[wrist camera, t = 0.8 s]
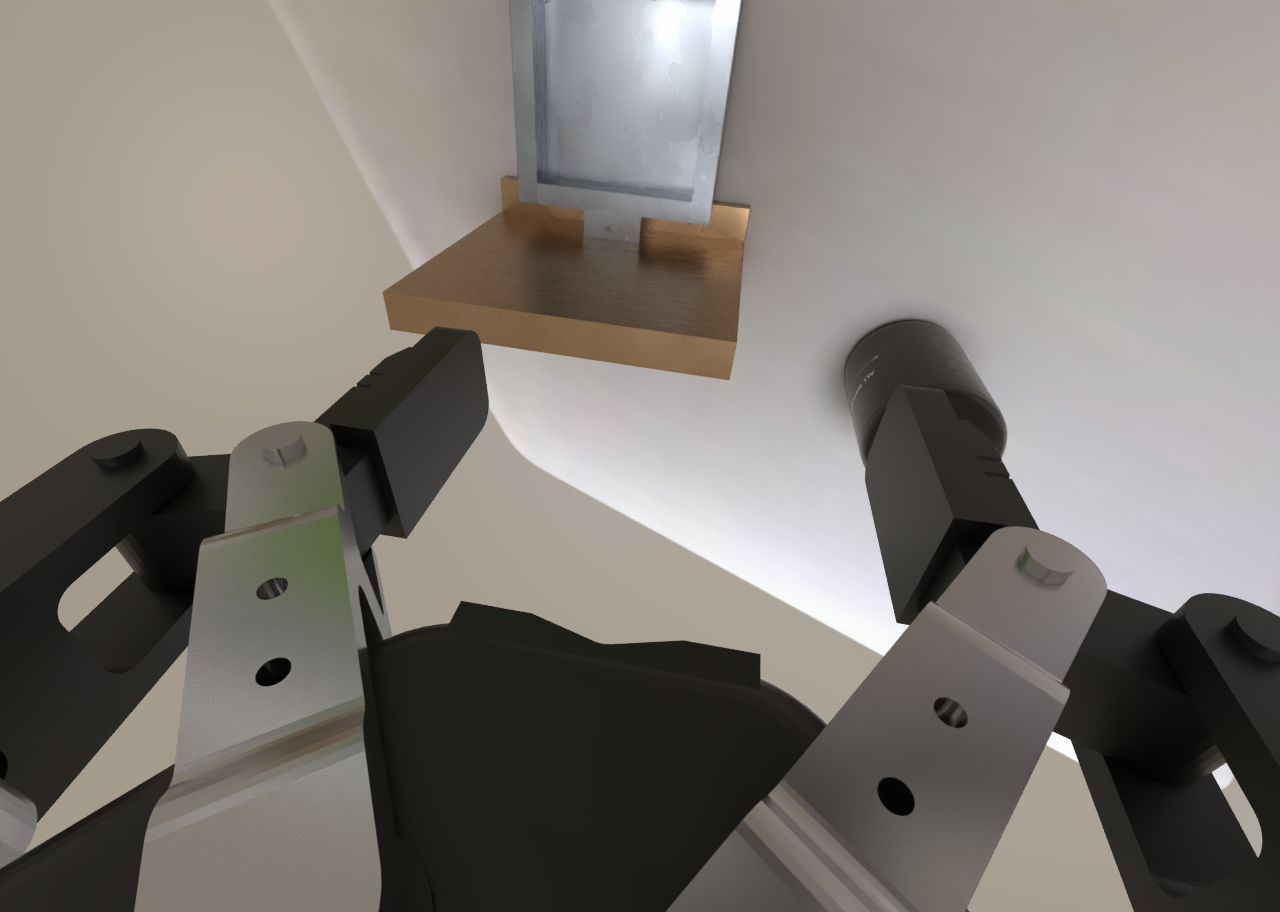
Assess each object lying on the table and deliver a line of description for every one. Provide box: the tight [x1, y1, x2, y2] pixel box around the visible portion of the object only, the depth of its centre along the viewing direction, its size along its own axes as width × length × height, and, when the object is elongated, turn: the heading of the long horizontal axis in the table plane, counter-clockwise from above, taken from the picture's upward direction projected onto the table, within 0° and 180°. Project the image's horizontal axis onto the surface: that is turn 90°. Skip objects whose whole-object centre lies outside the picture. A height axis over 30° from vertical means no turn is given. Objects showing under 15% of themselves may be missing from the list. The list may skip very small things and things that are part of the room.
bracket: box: [383, 0, 750, 380], centre depth 25 cm, size 15×14×14 cm
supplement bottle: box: [844, 321, 1007, 469], centre depth 30 cm, size 7×7×12 cm
